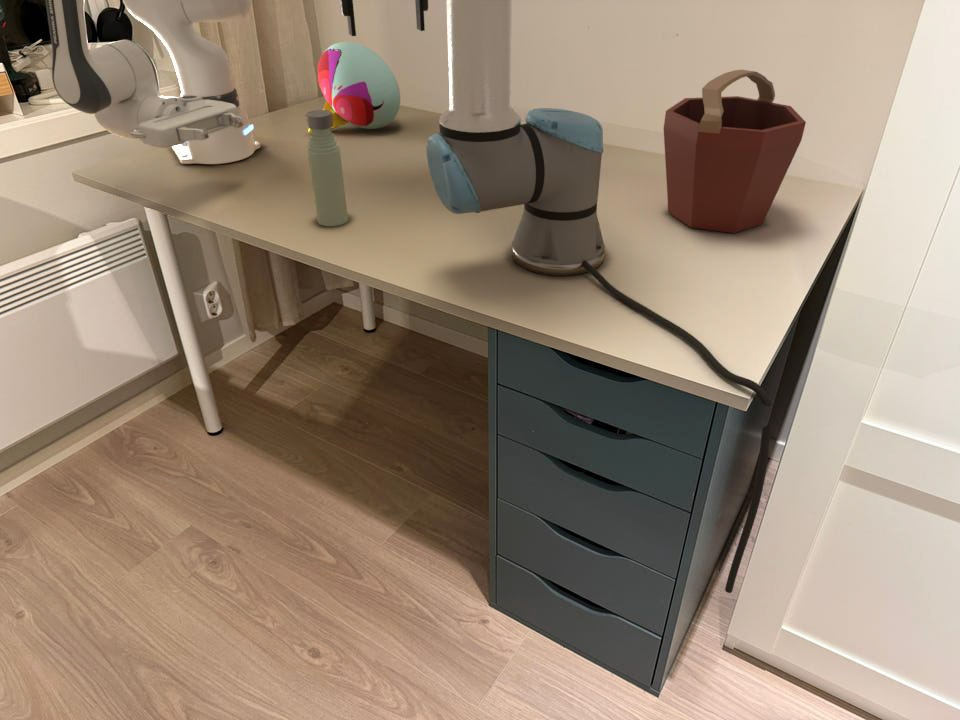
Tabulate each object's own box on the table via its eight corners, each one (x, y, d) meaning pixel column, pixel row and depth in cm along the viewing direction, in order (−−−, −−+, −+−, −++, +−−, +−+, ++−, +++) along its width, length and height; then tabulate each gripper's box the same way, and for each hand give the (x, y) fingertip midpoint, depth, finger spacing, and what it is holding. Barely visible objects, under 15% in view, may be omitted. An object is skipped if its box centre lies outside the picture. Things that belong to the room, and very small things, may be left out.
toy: (277, 110, 181) (275, 51, 163) (352, 72, 191) (358, 13, 173) (336, 175, 178) (341, 122, 160) (410, 134, 188) (421, 79, 170)
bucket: (710, 250, 119) (740, 96, 105) (622, 208, 134) (638, 69, 120) (804, 218, 129) (843, 75, 115) (713, 183, 145) (736, 53, 131)
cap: (333, 121, 123) (331, 109, 122) (333, 128, 120) (332, 116, 119) (307, 123, 123) (305, 110, 121) (307, 130, 119) (305, 117, 118)
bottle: (347, 213, 134) (335, 110, 123) (348, 224, 129) (336, 119, 118) (317, 215, 133) (302, 112, 122) (317, 227, 128) (302, 121, 118)
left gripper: (119, 116, 126) (177, 124, 121) (202, 93, 141) (256, 99, 136) (129, 151, 129) (186, 160, 124) (208, 125, 145) (262, 132, 140)
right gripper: (437, -101, 131) (441, 24, 143) (302, -99, 123) (318, 33, 135) (451, -100, 125) (454, 30, 137) (310, -98, 117) (326, 40, 129)
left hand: (223, 128), depth 130 cm, fingers open, 8 cm apart
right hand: (387, 32), depth 136 cm, fingers open, 13 cm apart
